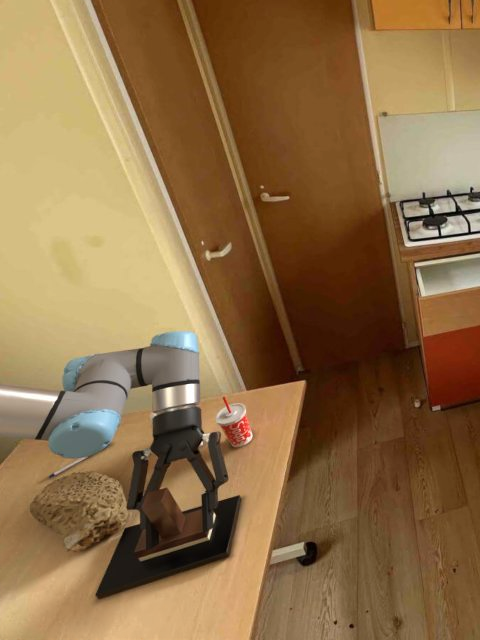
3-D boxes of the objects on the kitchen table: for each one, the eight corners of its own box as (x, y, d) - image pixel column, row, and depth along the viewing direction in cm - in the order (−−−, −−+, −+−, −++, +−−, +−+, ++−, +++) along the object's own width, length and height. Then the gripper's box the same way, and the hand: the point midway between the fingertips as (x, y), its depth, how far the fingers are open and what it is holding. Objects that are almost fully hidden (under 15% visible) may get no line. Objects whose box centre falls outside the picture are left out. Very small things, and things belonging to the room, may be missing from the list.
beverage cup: (225, 453, 99) (205, 411, 93) (229, 434, 104) (210, 392, 98) (255, 444, 101) (237, 402, 95) (257, 425, 106) (240, 384, 100)
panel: (98, 599, 73) (94, 595, 73) (127, 532, 83) (124, 527, 83) (229, 557, 79) (226, 552, 79) (241, 499, 89) (239, 494, 89)
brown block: (140, 561, 77) (110, 521, 72) (150, 534, 82) (123, 494, 76) (209, 540, 81) (186, 499, 75) (215, 515, 85) (194, 475, 79)
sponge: (144, 521, 86) (114, 454, 96) (121, 509, 81) (91, 440, 90) (64, 581, 79) (39, 502, 88) (33, 572, 74) (10, 489, 83)
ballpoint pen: (109, 443, 101) (107, 440, 101) (110, 445, 101) (108, 442, 101) (49, 477, 94) (47, 474, 93) (51, 479, 93) (48, 476, 93)
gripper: (243, 397, 89) (251, 514, 83) (124, 424, 83) (124, 552, 77) (230, 396, 83) (238, 524, 77) (99, 426, 76) (97, 567, 70)
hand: (181, 538), depth 77 cm, fingers open, 8 cm apart
